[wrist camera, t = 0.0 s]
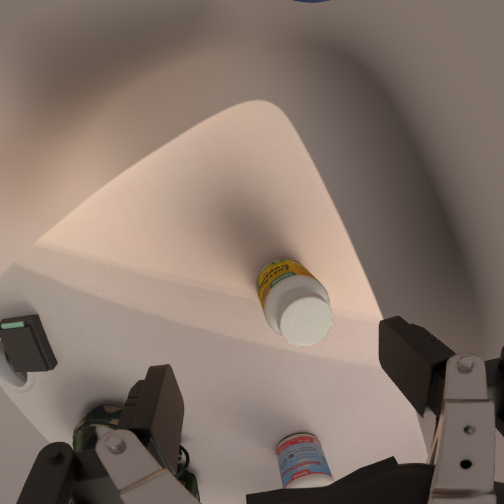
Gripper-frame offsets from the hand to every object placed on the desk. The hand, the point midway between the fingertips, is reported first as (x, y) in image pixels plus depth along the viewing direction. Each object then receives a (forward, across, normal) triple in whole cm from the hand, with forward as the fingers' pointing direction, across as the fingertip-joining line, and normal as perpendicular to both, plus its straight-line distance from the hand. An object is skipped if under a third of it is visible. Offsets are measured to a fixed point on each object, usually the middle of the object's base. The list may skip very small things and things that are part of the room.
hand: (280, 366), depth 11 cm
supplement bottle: (+20, -3, +4) cm, 20 cm away
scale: (+20, +28, +6) cm, 35 cm away
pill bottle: (+20, -2, +28) cm, 34 cm away
